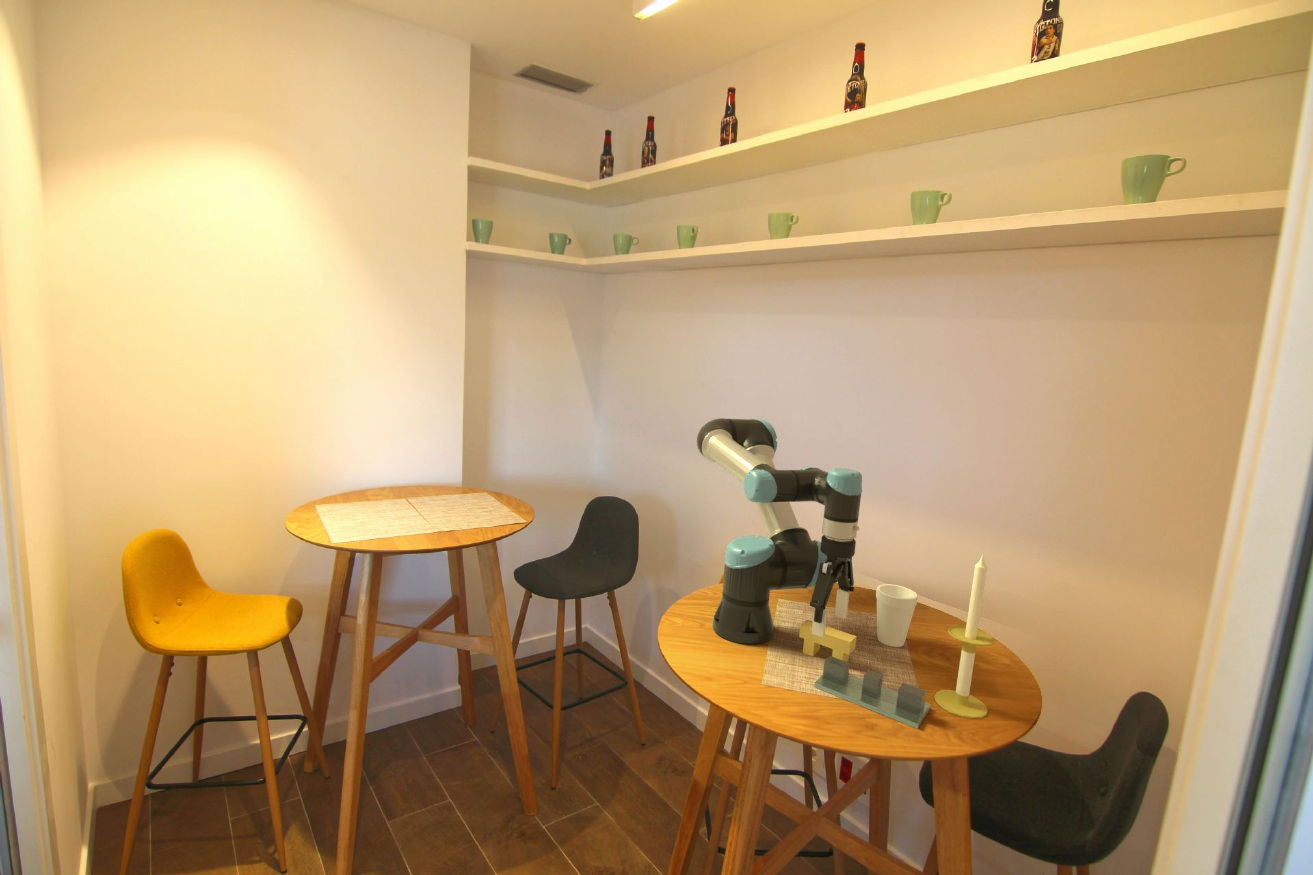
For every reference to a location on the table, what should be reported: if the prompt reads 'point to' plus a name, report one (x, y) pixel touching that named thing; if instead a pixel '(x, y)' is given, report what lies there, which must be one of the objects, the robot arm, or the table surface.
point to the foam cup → (894, 613)
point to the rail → (873, 693)
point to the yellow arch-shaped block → (827, 641)
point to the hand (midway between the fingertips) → (829, 625)
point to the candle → (968, 654)
